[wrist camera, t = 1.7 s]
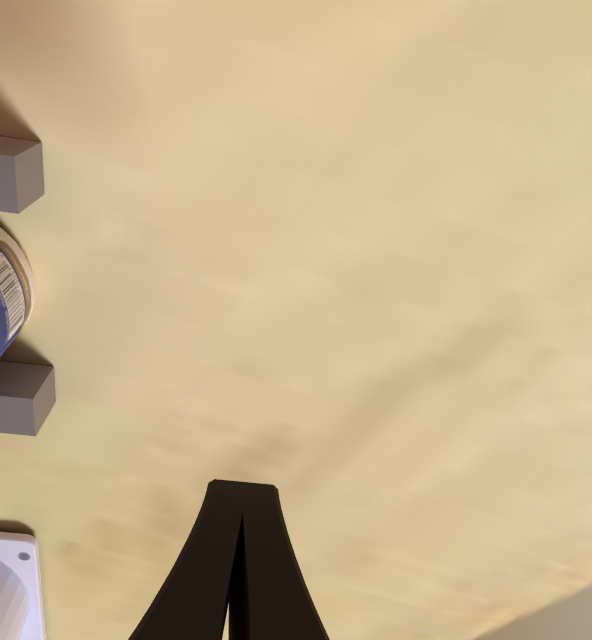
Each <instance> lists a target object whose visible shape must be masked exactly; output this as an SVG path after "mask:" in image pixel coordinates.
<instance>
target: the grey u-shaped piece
mask: <svg viewBox="0 0 592 640" xmlns="http://www.w3.org/2000/svg"><path fill="white" fill-rule="evenodd" d="M42 195H44V177H43V159H42V142H38V141H31V140H25V139H18V138H11V137H5V136H0V211H2V212H10V213H17V214H19V213H20V212H21V211H23V210H24V209H25V208H27V207H28V206H29V205H31V204H32V203H33V202H35V201H36V200H37V199H39V198H40V197H41V196H42ZM55 402H56V398H55V379H54V367H52V366H43V365H34V364H25V363H16V362H7V361H0V433H9V434H19V435H29V436H36V435H37V433H38V432H39V430H40V428H41V426H42V425H43V423H44V421H45V419H46V418H47V416H48V414H49V412H50V411H51V409H52V407H53V406H54V404H55Z"/></svg>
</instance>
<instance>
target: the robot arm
mask: <svg viewBox="0 0 592 640" xmlns="http://www.w3.org/2000/svg"><path fill="white" fill-rule="evenodd" d="M228 603H229V640H330V639H329V637H328V635H327V633H326V631H325V629H324V626H323V624H322V622H321V620H320V617H319V615H318V613H317V610H316V608H315V606H314V604H313V601H312V599H311V596H310V594H309V591H308V589H307V587H306V584H305V581H304V579H303V576H302V573H301V570H300V568H299V565H298V562H297V560H296V557H295V554H294V551H293V548H292V545H291V542H290V538H289V535H288V532H287V528H286V525H285V521H284V517H283V513H282V509H281V504H280V500H279V494H278V489H277V488H276V487H275V486H274V485H269V484H259V483H248V482H238V481H228V480H217V479H214V480H213V481H211V482H209V483H208V487H207V492H206V495H205V498H204V501H203V504H202V507H201V509H200V512H199V514H198V517H197V519H196V521H195V524H194V526H193V528H192V530H191V533H190V535H189V537H188V539H187V541H186V543H185V545H184V547H183V549H182V550H181V552H180V554H179V556H178V558H177V560H176V562H175V564H174V566H173V568H172V570H171V571H170V573H169V575H168V577H167V578H166V580H165V582H164V583H163V585H162V587H161V588H160V590H159V592H158V594H157V595H156V597H155V599H154V600H153V602H152V604H151V605H150V607H149V609H148V610H147V612H146V613H145V615H144V616H143V618H142V620H141V621H140V623H139V624H138V626H137V627H136V629H135V630H134V632H133V633H132V635H131V636H130V638H129V639H128V640H222V636H223V630H224V625H225V619H226V614H227V608H228ZM0 640H46V632H45V621H44V609H43V597H42V585H41V574H40V562H39V550H38V542H37V540H36V539H35V538H34V537H33V536H31V535H29V534H21V533H9V532H0Z"/></svg>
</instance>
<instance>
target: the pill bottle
mask: <svg viewBox="0 0 592 640" xmlns="http://www.w3.org/2000/svg"><path fill="white" fill-rule="evenodd" d="M34 302H35V282H34V277H33V274H32V271H31V268H30V266H29V263H28V261H27V259H26V257H25V255H24V253H23V251H22V250H21V249H20V248H19V246H18V244H17V243H16V242H15V241H14V240H13V239H12V238H11V237H10V236H9V235H8V234H7V233H6V232H5V231H4V230H3V229H2V228H0V357H1V355H2V354H3V353H4V351H5V350H6V349H7V348H8V346H9V345H10V344H11V343H12V342H13V340H14V339H15V338H16V336H17V335H18V334H19V333H20V331H21V330H22V328H23V327H24V325H25V324H26V323H27V321H28V320H29V318H30V316H31V313H32V310H33V307H34Z"/></svg>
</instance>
